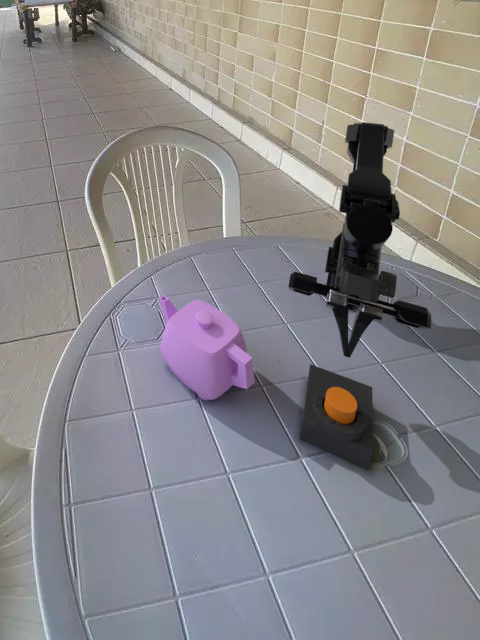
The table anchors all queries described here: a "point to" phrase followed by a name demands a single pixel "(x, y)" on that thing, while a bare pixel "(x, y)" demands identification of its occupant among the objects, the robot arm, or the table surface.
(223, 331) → the teapot
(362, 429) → the button base
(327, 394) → the round orange button
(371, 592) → the table surface
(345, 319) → the robot arm
